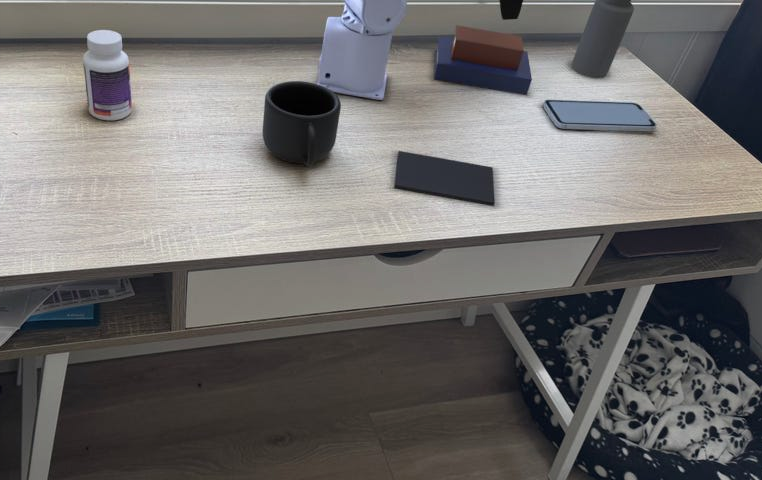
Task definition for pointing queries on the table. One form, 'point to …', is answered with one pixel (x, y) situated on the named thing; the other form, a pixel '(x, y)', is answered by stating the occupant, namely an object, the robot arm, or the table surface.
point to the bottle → (602, 37)
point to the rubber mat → (445, 178)
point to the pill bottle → (107, 76)
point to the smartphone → (599, 115)
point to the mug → (300, 121)
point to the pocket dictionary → (487, 47)
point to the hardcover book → (480, 71)
